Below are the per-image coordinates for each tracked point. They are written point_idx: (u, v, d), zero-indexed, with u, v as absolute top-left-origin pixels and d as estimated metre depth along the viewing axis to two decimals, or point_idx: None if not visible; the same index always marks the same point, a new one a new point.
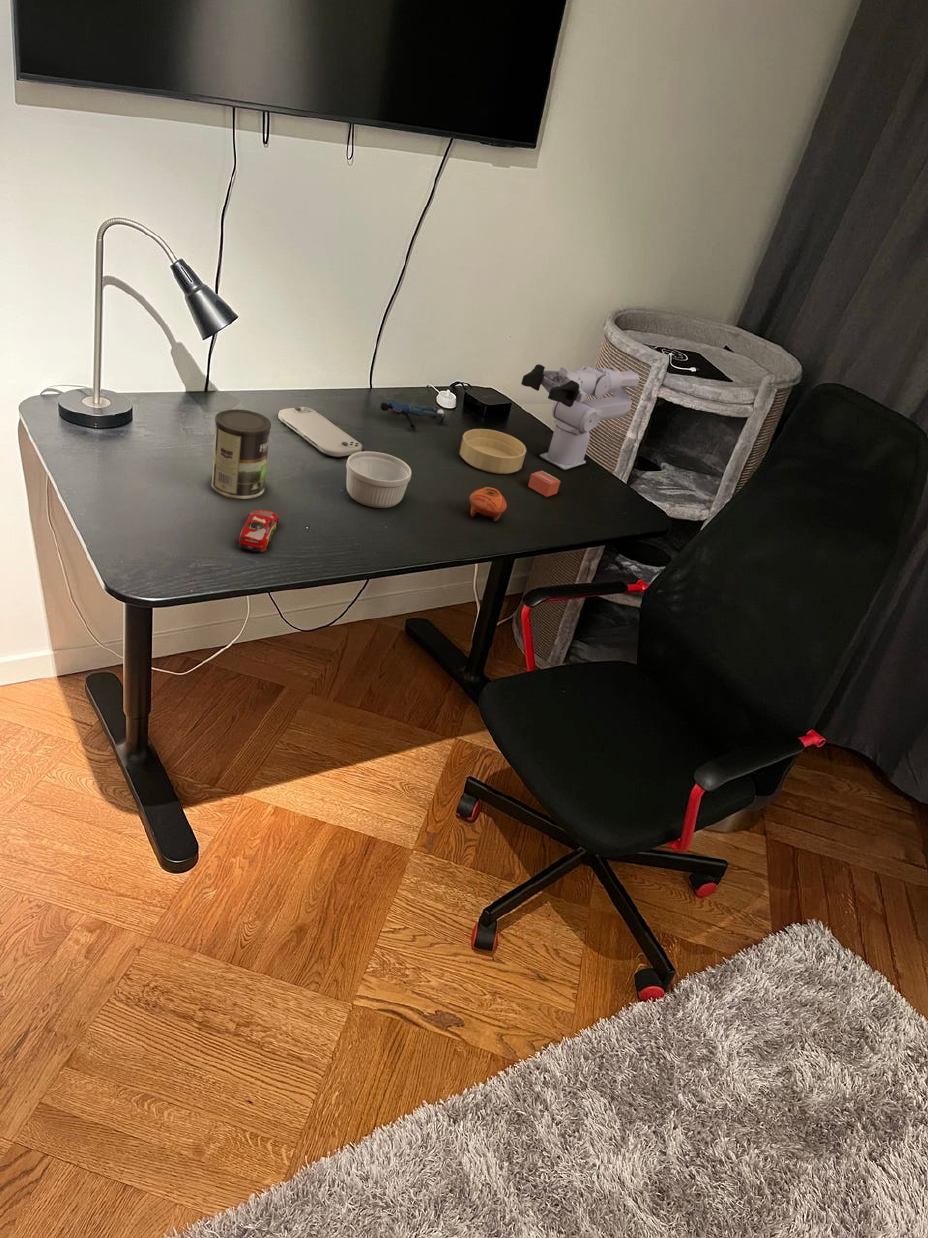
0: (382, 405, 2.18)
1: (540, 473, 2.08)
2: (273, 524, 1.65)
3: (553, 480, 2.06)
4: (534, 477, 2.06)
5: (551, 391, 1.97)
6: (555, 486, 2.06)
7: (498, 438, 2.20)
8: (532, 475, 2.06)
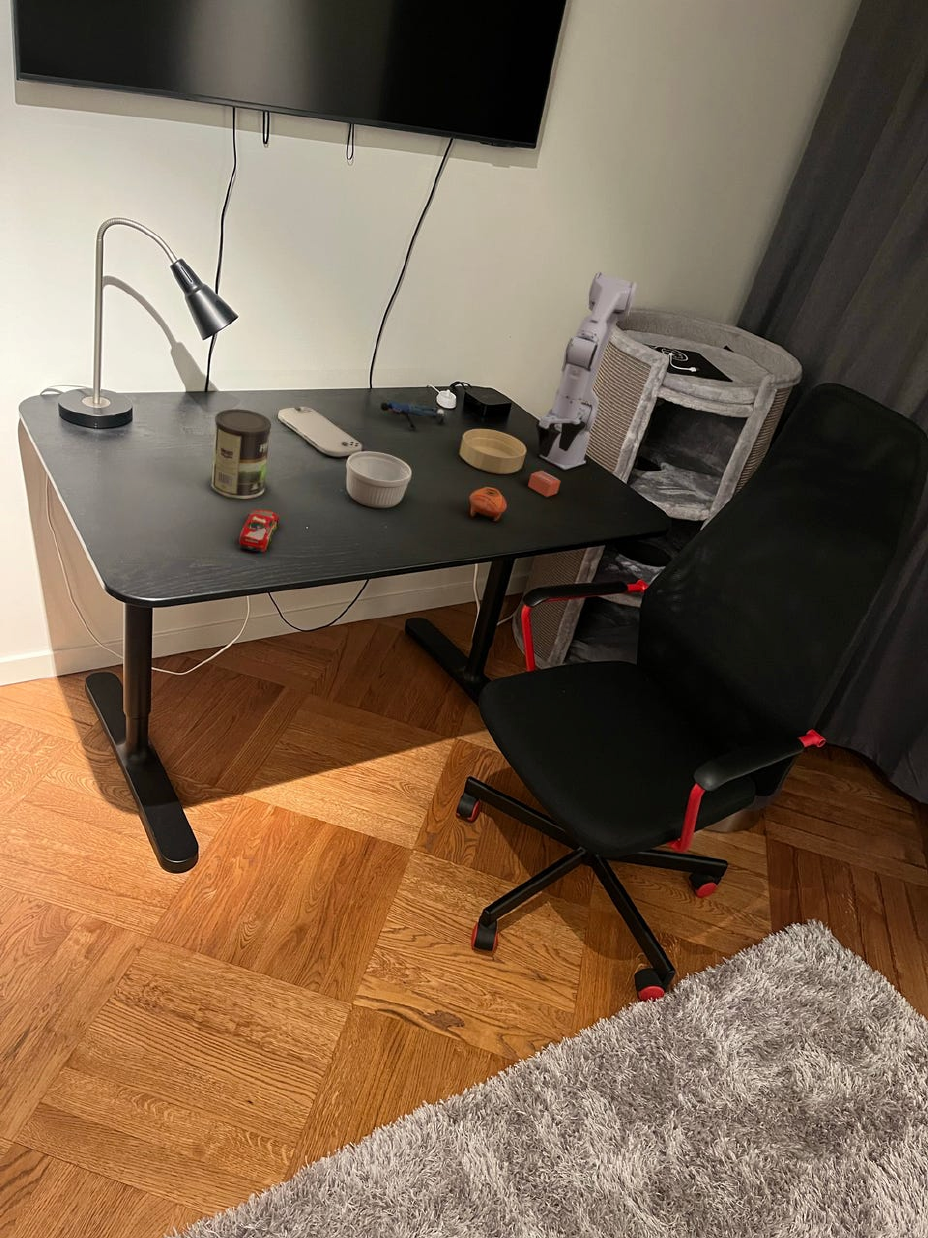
0: (382, 405, 2.18)
1: (540, 473, 2.08)
2: (273, 524, 1.65)
3: (553, 480, 2.06)
4: (534, 477, 2.06)
5: None
6: (555, 486, 2.06)
7: (498, 438, 2.20)
8: (532, 475, 2.06)
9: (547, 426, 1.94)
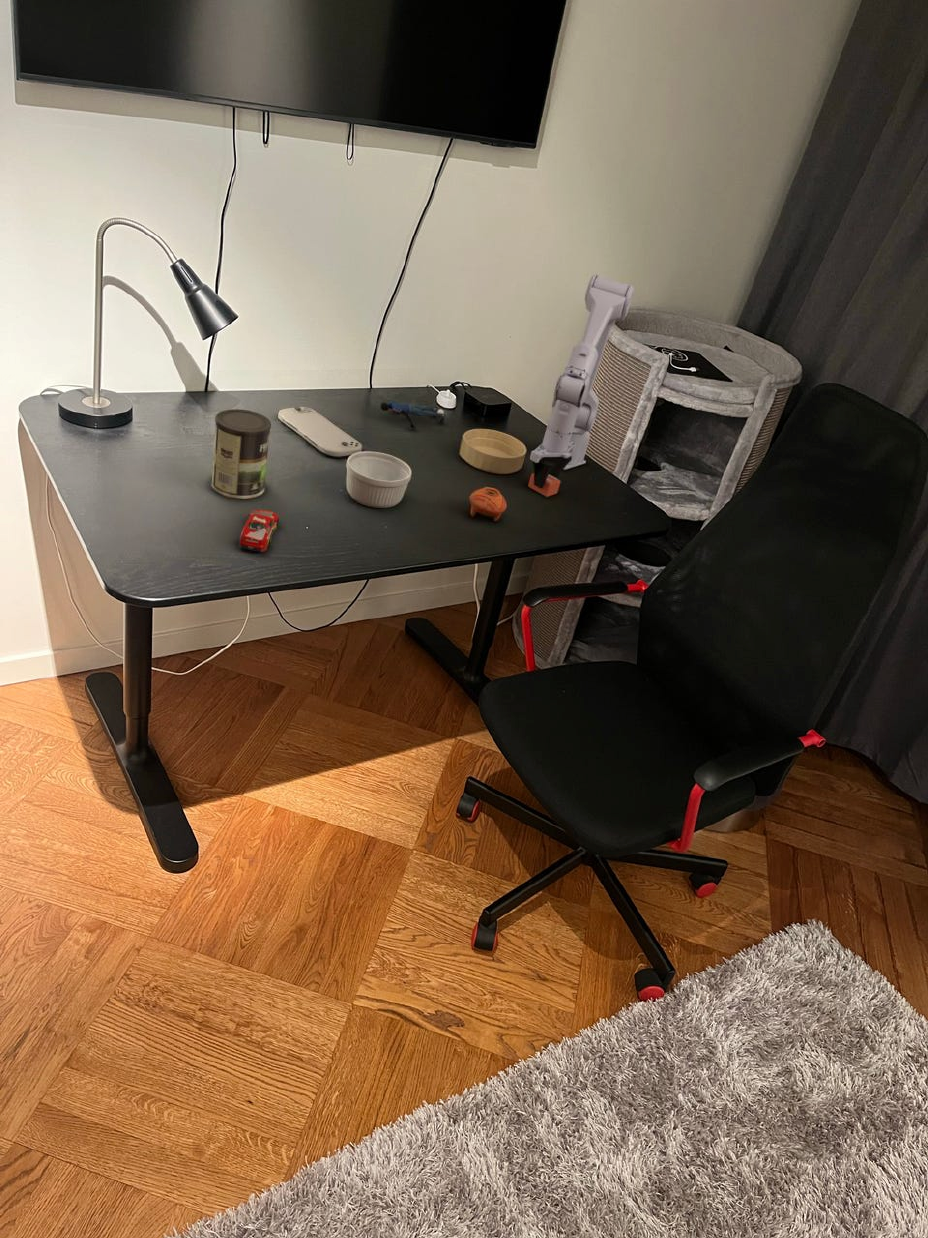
0: (382, 405, 2.18)
1: None
2: (273, 524, 1.65)
3: (553, 480, 2.06)
4: None
5: None
6: (555, 485, 2.06)
7: (498, 438, 2.20)
8: (532, 475, 2.06)
9: (537, 460, 1.98)
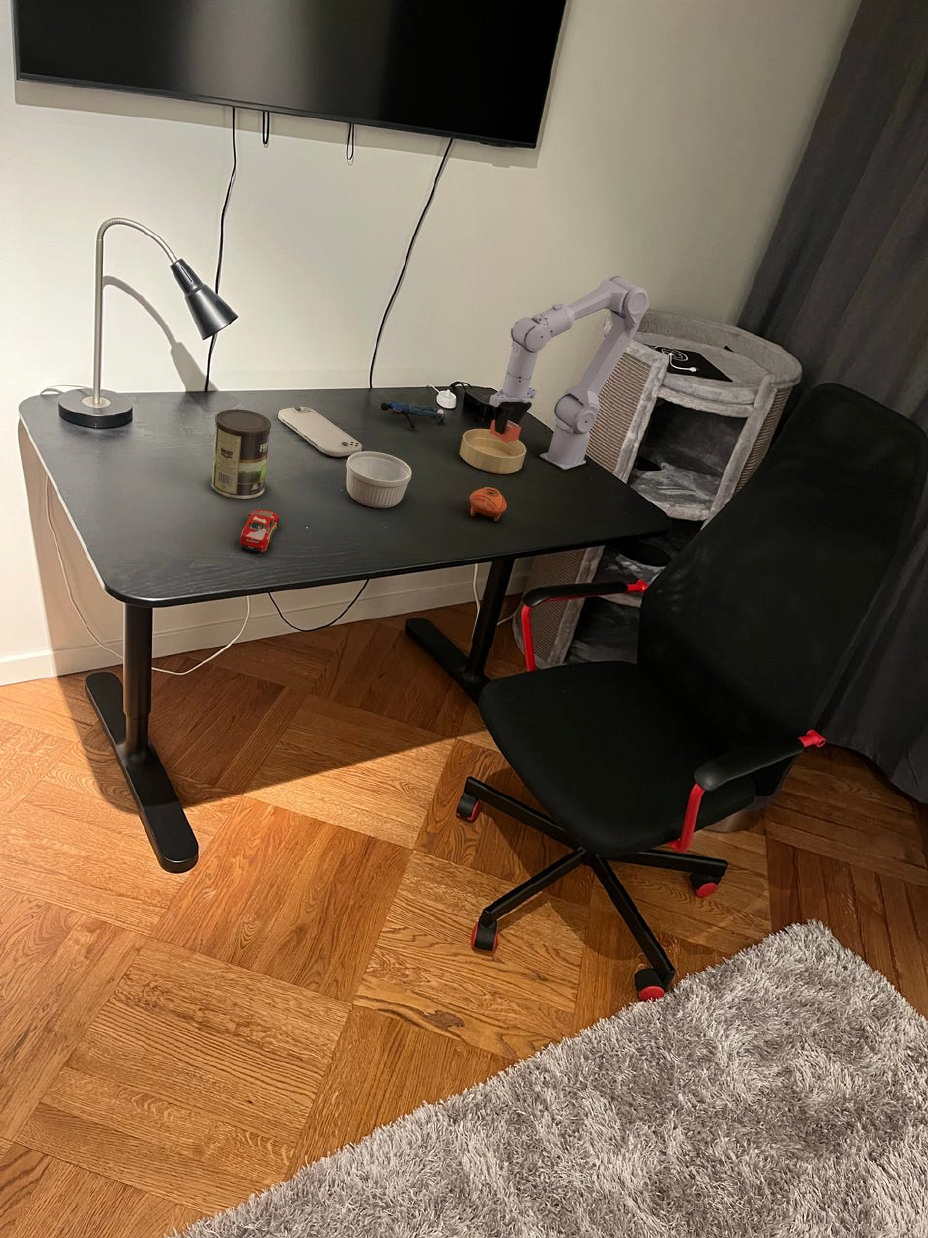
0: (382, 405, 2.18)
1: None
2: (273, 524, 1.65)
3: (514, 426, 2.09)
4: (494, 424, 2.09)
5: None
6: (516, 432, 2.09)
7: (498, 438, 2.20)
8: (493, 421, 2.09)
9: (497, 404, 2.01)
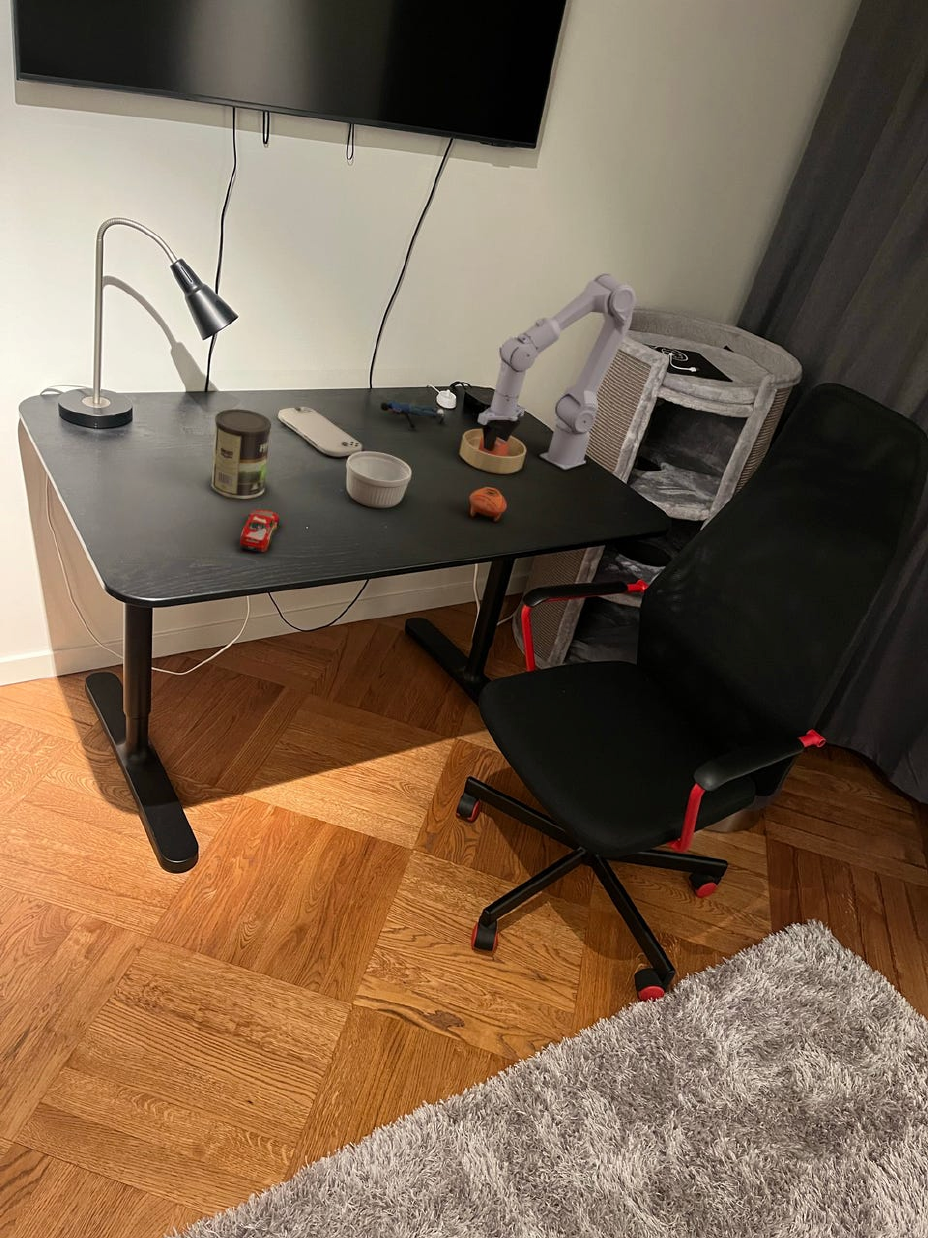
0: (382, 405, 2.18)
1: None
2: (274, 524, 1.65)
3: (502, 443, 2.12)
4: (483, 441, 2.13)
5: None
6: (504, 448, 2.12)
7: None
8: (482, 438, 2.13)
9: (485, 422, 2.04)
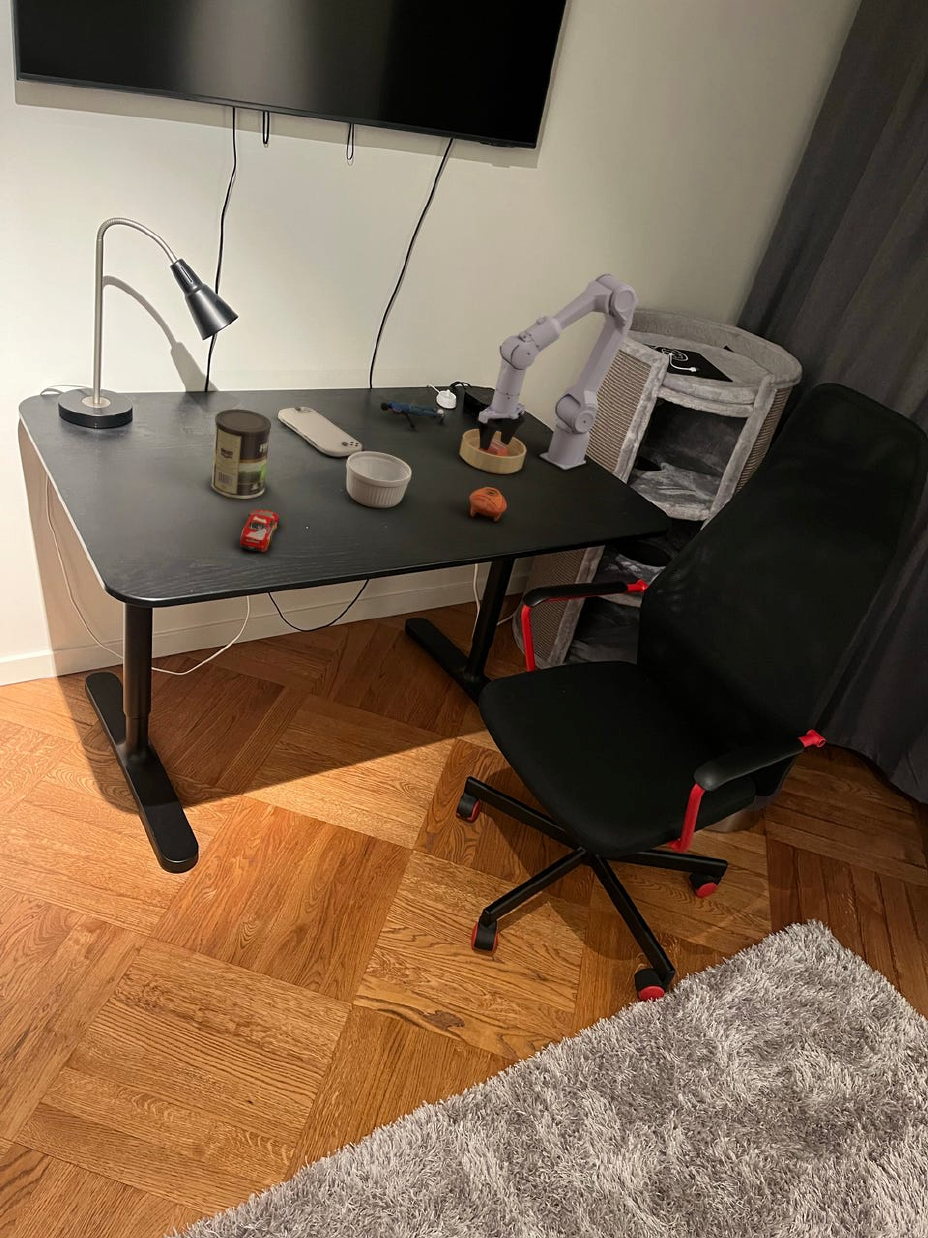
0: (382, 405, 2.18)
1: None
2: (274, 524, 1.65)
3: (501, 448, 2.13)
4: None
5: None
6: (503, 453, 2.13)
7: (498, 438, 2.20)
8: None
9: (486, 421, 2.04)
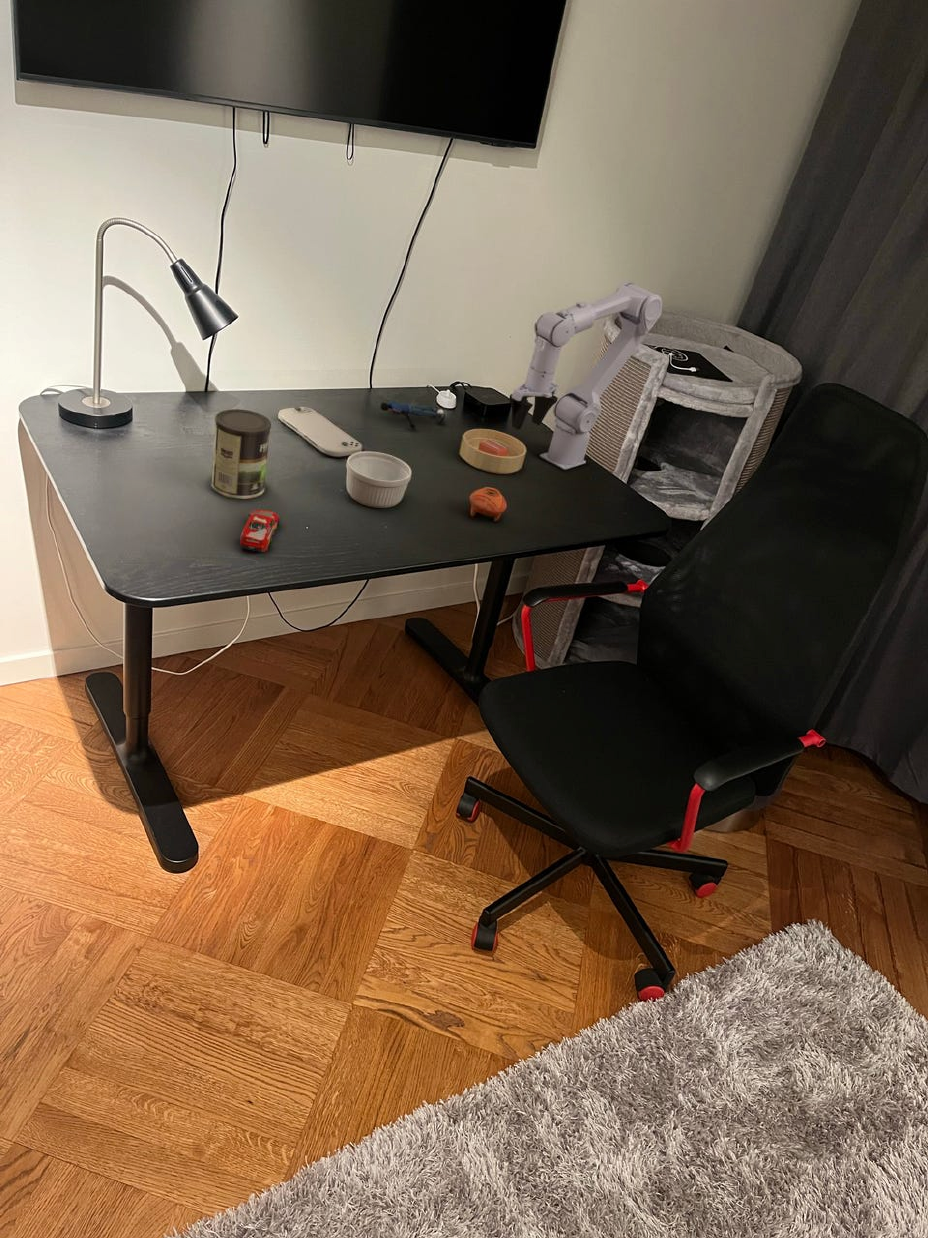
0: (382, 405, 2.18)
1: (489, 442, 2.15)
2: (274, 524, 1.65)
3: (501, 448, 2.13)
4: (482, 446, 2.13)
5: None
6: (503, 453, 2.13)
7: (498, 438, 2.20)
8: (481, 443, 2.13)
9: (520, 398, 2.01)
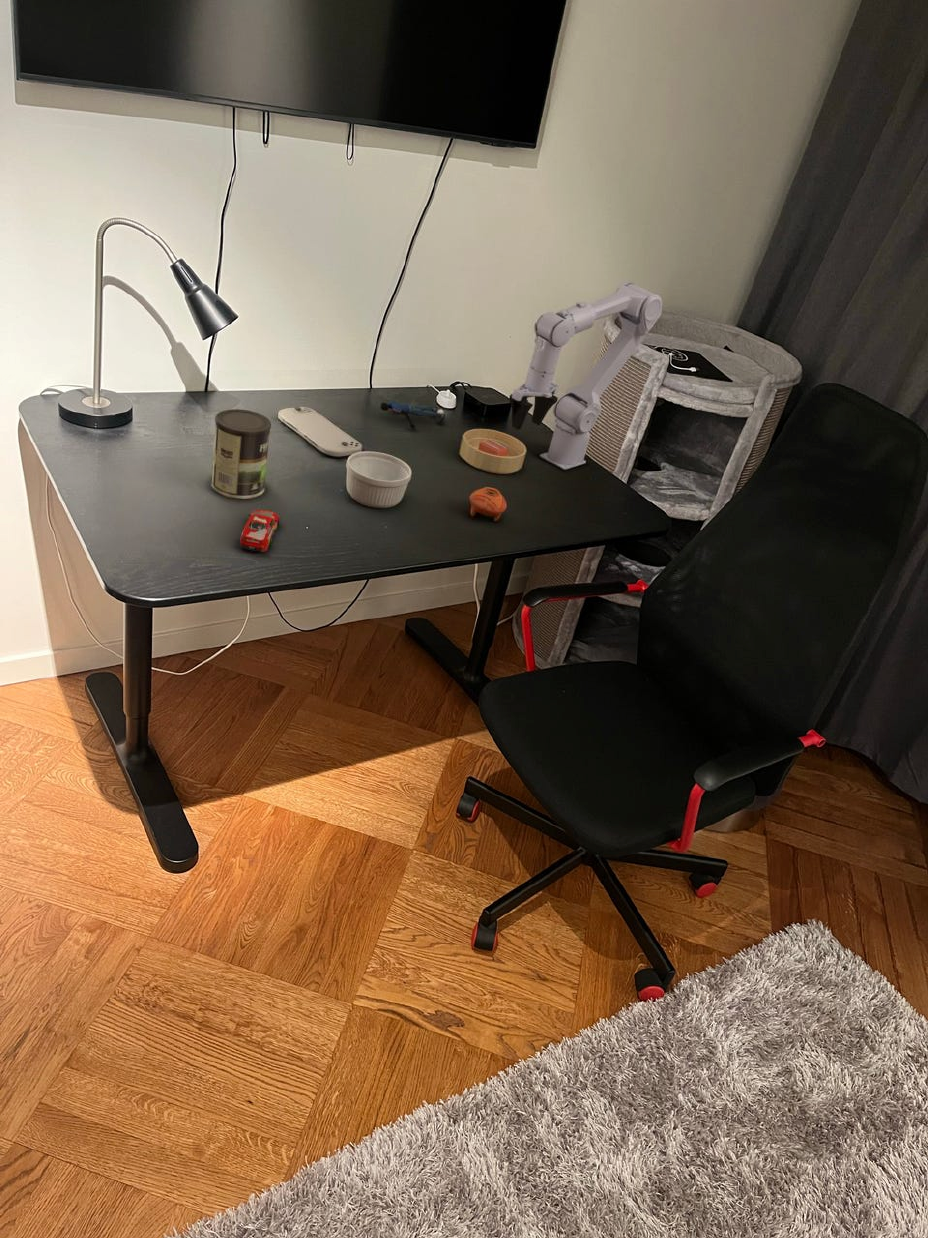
0: (382, 405, 2.18)
1: (489, 442, 2.15)
2: (274, 524, 1.65)
3: (501, 448, 2.13)
4: (482, 446, 2.13)
5: None
6: (503, 453, 2.13)
7: (498, 438, 2.20)
8: (481, 443, 2.13)
9: (520, 398, 2.01)
